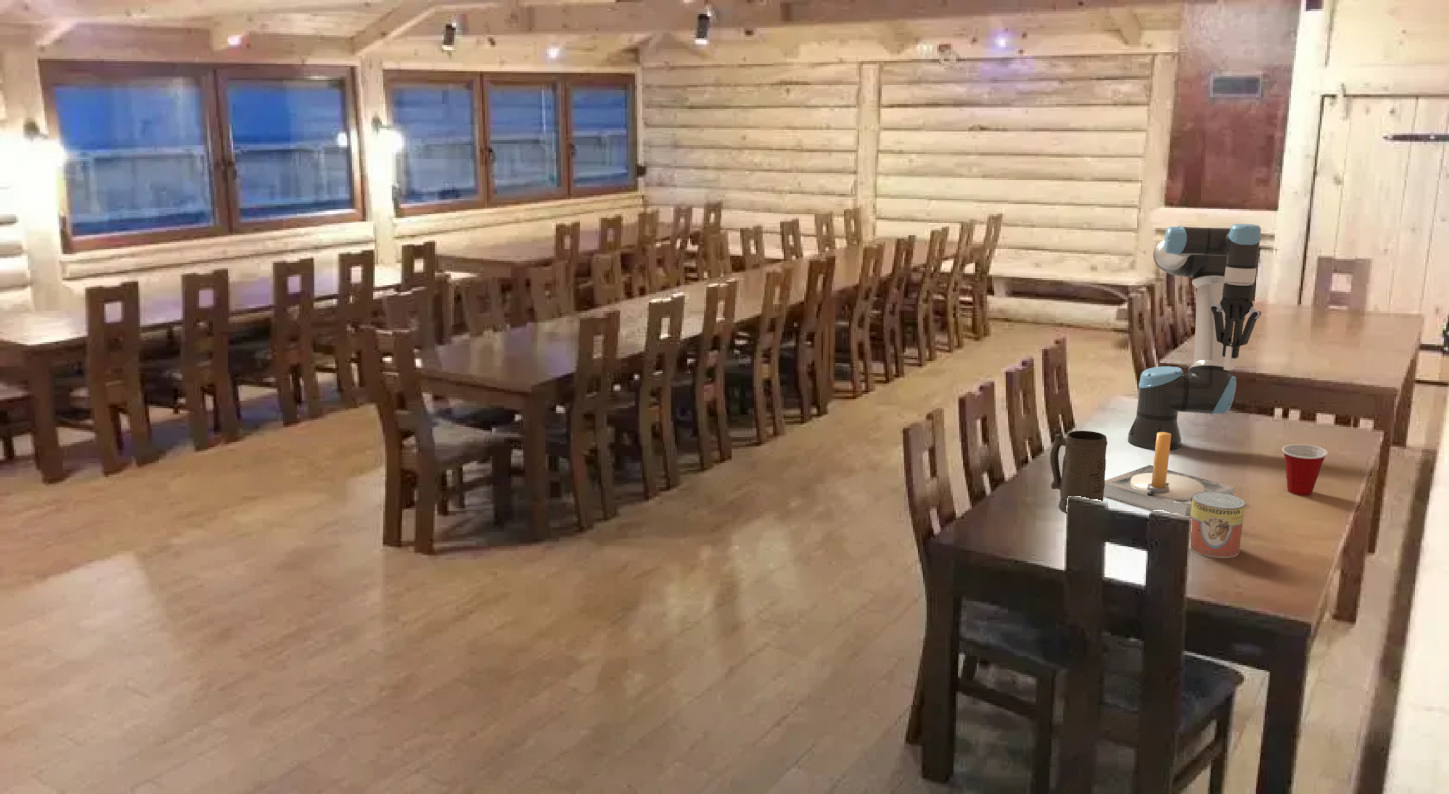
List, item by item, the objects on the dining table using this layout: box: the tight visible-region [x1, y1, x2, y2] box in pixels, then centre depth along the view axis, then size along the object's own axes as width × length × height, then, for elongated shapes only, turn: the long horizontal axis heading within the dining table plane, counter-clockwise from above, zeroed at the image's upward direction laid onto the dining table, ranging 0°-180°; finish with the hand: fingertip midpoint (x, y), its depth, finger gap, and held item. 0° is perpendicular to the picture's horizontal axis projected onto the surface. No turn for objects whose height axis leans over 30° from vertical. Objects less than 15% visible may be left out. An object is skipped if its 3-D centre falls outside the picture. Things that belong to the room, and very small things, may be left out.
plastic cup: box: [1281, 443, 1329, 496], centre depth 300 cm, size 11×11×12 cm
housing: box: [1103, 464, 1235, 516], centre depth 296 cm, size 24×24×4 cm
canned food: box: [1189, 492, 1246, 559], centre depth 261 cm, size 11×11×12 cm
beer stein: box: [1049, 430, 1108, 513], centre depth 287 cm, size 15×11×20 cm
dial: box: [1130, 432, 1204, 500], centre depth 294 cm, size 19×18×16 cm
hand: (1228, 369), depth 308 cm, fingers closed
